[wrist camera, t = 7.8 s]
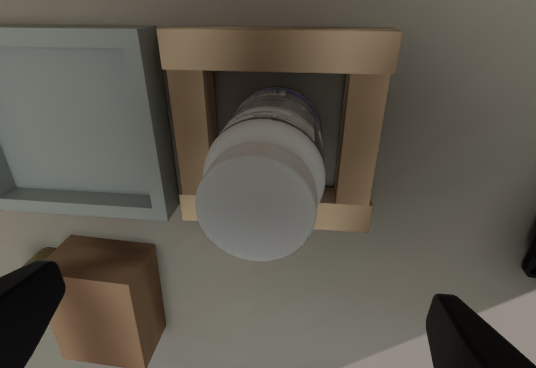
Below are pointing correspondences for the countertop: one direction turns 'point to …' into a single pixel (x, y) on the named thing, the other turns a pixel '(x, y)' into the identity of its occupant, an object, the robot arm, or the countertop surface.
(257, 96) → the pill bottle
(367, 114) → the socket collar
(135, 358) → the brown cardboard box
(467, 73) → the countertop surface
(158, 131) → the tray
